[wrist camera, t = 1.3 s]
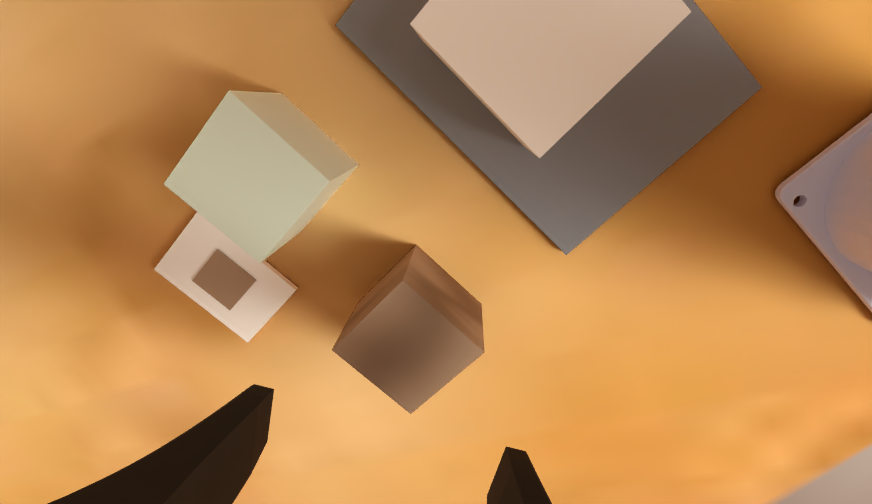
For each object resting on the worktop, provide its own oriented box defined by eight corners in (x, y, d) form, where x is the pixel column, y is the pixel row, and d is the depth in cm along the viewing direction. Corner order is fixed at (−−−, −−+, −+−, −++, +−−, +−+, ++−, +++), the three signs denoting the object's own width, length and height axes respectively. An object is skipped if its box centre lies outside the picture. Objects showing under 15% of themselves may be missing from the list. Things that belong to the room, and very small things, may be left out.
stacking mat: (754, 87, 17) (762, 87, 17) (563, 251, 20) (566, 255, 20) (517, -210, 15) (519, -220, 14) (338, 27, 18) (335, 25, 17)
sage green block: (359, 164, 19) (330, 181, 15) (302, 230, 21) (259, 263, 17) (282, 92, 19) (228, 90, 14) (227, 166, 20) (163, 184, 16)
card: (298, 288, 22) (295, 291, 21) (250, 339, 23) (246, 343, 23) (202, 208, 21) (197, 210, 20) (157, 267, 22) (152, 270, 22)
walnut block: (481, 303, 21) (484, 352, 17) (421, 356, 23) (410, 413, 18) (416, 244, 21) (402, 280, 16) (358, 302, 22) (331, 349, 18)
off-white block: (640, 32, 16) (691, 11, 13) (524, 146, 18) (539, 158, 14) (534, -93, 15) (556, -157, 12) (422, 41, 17) (409, 23, 13)
